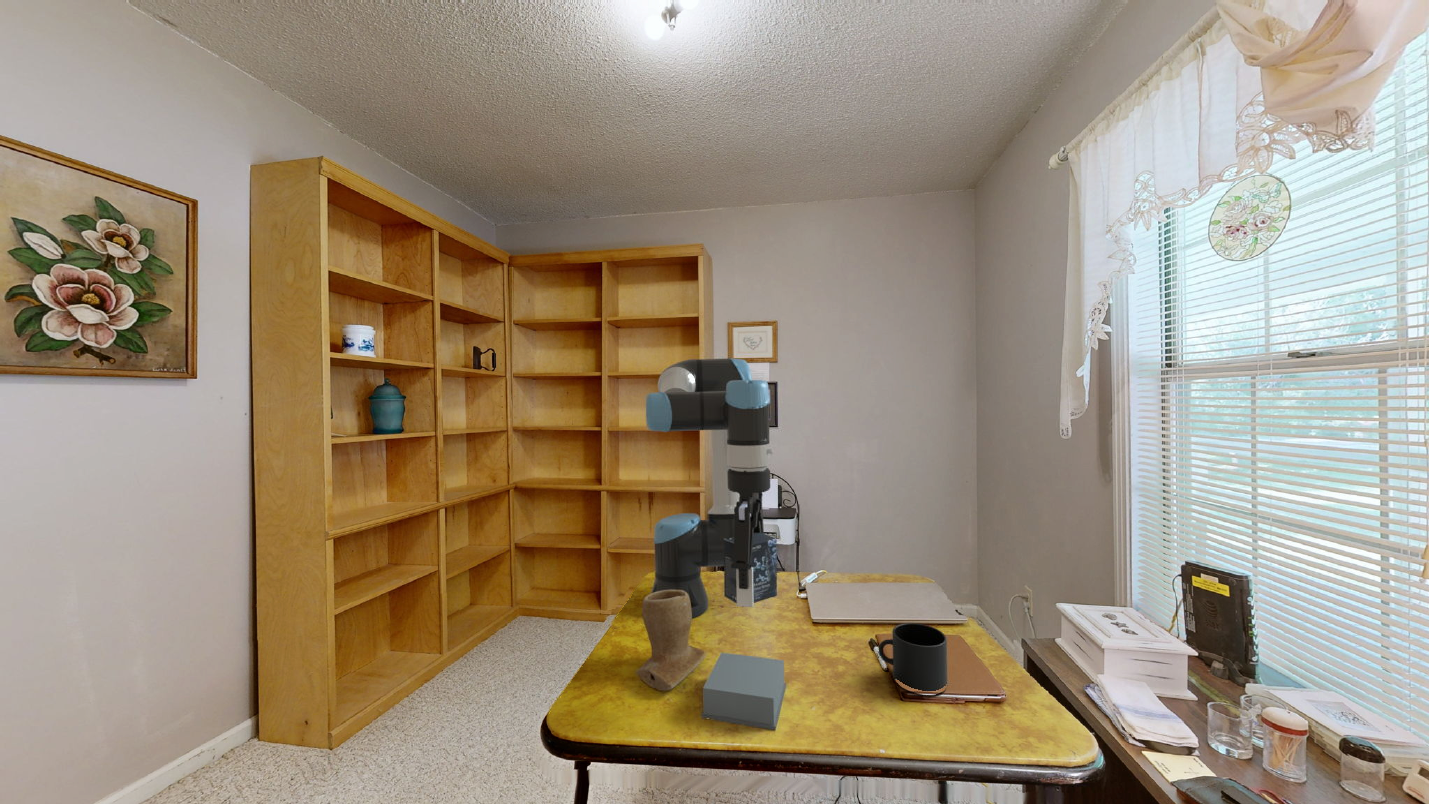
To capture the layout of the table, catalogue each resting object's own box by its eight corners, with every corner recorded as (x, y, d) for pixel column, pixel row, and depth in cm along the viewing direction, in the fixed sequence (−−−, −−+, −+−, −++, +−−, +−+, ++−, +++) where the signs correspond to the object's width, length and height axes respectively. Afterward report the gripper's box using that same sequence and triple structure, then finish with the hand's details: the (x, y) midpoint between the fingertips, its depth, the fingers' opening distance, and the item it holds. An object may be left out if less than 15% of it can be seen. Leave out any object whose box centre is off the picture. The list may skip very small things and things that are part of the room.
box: (743, 608, 85) (742, 546, 84) (723, 597, 89) (722, 538, 89) (778, 596, 89) (777, 537, 89) (757, 586, 94) (757, 530, 94)
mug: (881, 661, 102) (881, 617, 102) (947, 674, 97) (946, 627, 97) (875, 686, 93) (875, 638, 93) (947, 702, 88) (946, 651, 88)
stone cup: (665, 646, 109) (664, 578, 109) (713, 660, 104) (711, 587, 103) (619, 682, 96) (618, 604, 96) (671, 700, 90) (669, 617, 90)
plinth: (720, 677, 97) (720, 651, 97) (786, 686, 94) (785, 659, 94) (701, 717, 85) (700, 688, 85) (775, 730, 82) (775, 699, 82)
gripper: (759, 479, 77) (761, 624, 78) (778, 459, 98) (779, 573, 99) (711, 478, 79) (714, 619, 80) (740, 458, 100) (742, 570, 101)
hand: (750, 593), depth 89 cm, fingers closed on box, 9 cm apart
